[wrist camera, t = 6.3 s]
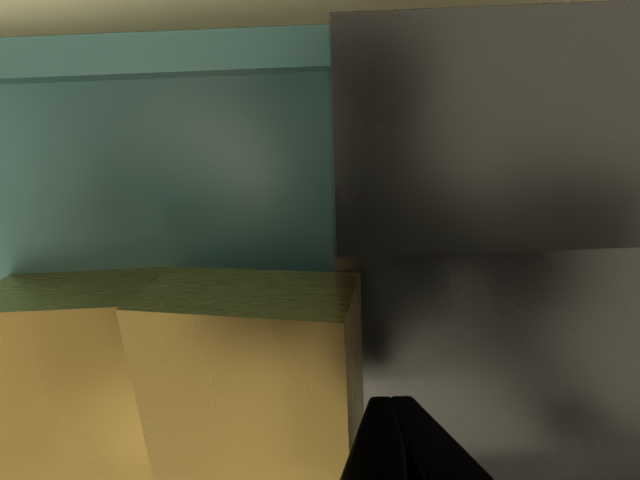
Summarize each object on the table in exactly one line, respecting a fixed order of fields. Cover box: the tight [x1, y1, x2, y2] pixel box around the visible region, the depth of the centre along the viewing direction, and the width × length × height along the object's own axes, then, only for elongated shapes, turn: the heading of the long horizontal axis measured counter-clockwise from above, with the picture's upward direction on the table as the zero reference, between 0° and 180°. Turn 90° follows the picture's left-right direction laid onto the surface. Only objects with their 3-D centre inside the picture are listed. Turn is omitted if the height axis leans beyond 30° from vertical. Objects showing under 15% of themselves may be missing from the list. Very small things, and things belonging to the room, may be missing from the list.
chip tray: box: [0, 24, 334, 280], centre depth 10 cm, size 14×11×2 cm
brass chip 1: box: [0, 266, 177, 480], centre depth 10 cm, size 5×4×2 cm
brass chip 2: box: [116, 267, 364, 480], centre depth 9 cm, size 5×4×2 cm
